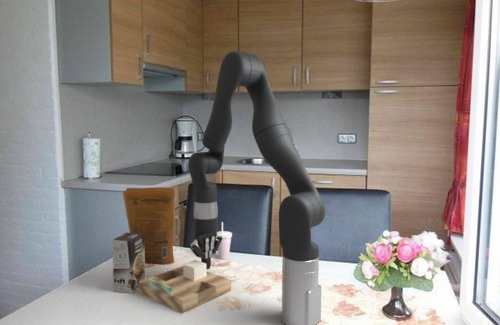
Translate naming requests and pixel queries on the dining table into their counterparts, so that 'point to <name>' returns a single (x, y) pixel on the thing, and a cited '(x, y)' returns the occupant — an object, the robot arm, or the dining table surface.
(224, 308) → the dining table surface
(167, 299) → the trap deck
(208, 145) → the robot arm
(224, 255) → the smoothie
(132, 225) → the pancake mix bag
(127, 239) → the coffee box
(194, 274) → the block
